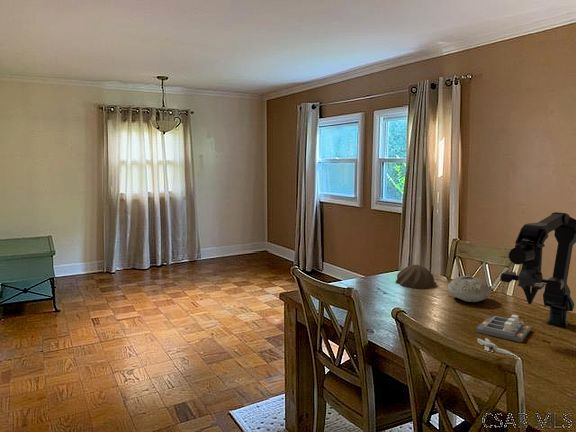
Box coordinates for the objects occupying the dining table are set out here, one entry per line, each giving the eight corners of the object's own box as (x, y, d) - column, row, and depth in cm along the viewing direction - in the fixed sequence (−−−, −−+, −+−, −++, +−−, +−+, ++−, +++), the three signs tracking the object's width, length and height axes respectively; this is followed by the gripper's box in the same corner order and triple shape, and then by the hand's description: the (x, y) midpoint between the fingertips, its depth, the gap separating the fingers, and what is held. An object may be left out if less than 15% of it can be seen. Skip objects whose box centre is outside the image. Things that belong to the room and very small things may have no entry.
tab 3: (510, 323, 163) (511, 314, 163) (519, 324, 161) (520, 315, 161) (508, 325, 161) (509, 316, 161) (517, 327, 159) (518, 318, 159)
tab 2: (507, 326, 160) (508, 317, 160) (516, 328, 158) (517, 319, 158) (505, 328, 158) (505, 319, 157) (514, 330, 156) (515, 321, 155)
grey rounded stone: (499, 302, 192) (500, 280, 191) (470, 308, 185) (471, 285, 183) (466, 291, 208) (467, 271, 207) (438, 297, 201) (439, 276, 199)
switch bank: (487, 321, 170) (487, 314, 170) (530, 330, 160) (530, 323, 160) (475, 332, 159) (476, 325, 159) (521, 342, 149) (521, 335, 149)
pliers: (490, 357, 136) (468, 338, 150) (490, 362, 136) (467, 342, 151) (521, 356, 136) (495, 337, 151) (521, 361, 136) (495, 341, 151)
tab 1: (504, 330, 157) (504, 320, 156) (513, 332, 155) (514, 322, 154) (502, 332, 154) (502, 323, 154) (511, 334, 152) (511, 325, 152)
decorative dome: (437, 280, 229) (438, 262, 228) (431, 290, 211) (431, 270, 210) (400, 277, 238) (401, 259, 236) (391, 286, 220) (391, 266, 219)
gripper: (496, 260, 151) (494, 304, 153) (559, 268, 139) (556, 315, 141) (505, 255, 160) (503, 296, 162) (565, 262, 148) (562, 307, 149)
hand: (529, 303), depth 153 cm, fingers closed
